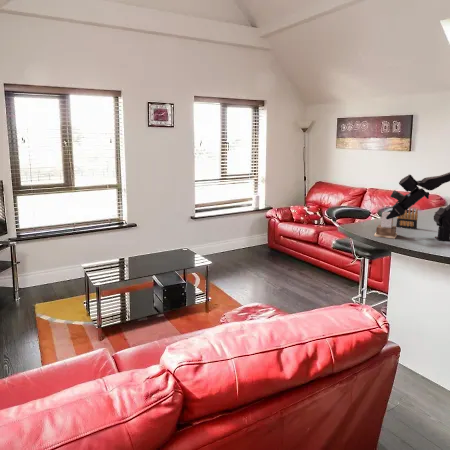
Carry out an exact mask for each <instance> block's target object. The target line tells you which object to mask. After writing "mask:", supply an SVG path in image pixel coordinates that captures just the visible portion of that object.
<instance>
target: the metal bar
mask: <svg viewBox="0 0 450 450" xmlns="http://www.w3.org/2000/svg"><path fill="white" fill-rule="evenodd" d="M390 213H391V211H383V212H382V213H381V222H380V225H381V228H390V229H392V226H393V224H394V218H391V219H386V217H387V216H388V215H389V214H390Z"/></svg>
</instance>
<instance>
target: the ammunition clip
mask: <svg viewBox="0 0 450 450" xmlns="http://www.w3.org/2000/svg"><path fill="white" fill-rule="evenodd" d="M411 208H412V209H411ZM418 210H419V209H418V207H416V209H415V207H413V206H412V207H410V208H408V210H406V211H405V213H404V214H403V215H402V216H398V217H396V228H401V227H402V228H403V229H410V228H411V229H413V230H417V227H418V218H419V213H418Z"/></svg>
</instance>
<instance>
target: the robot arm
mask: <svg viewBox="0 0 450 450" xmlns="http://www.w3.org/2000/svg"><path fill="white" fill-rule="evenodd" d="M449 182H450V171H449V172H447V173H443V174H441V175H436V176H428V177H424V178H422V179H420V180H416V179H415V178H414V176H412V175H411V174H408V175H406V176H404V177H403V178H402V179H401V180H400V181H399V182H398V184H399V186H401V188H403V189H404V190H405V192H408V194H405V195H404V194H402V193H401V192H399V191H397V190H396V189H395V190H393V191H392V193H391V194H390V198H391V199H392V198H393V199H395V200H397V201H396V202H395V203H394V204H393V205H392V208H391V209H392V210H391V211H390V212H391V213H390V214H389V215H388V216H387V217H386V219H391V218H393V219H395V218H397V217H398V216H402V215H403V214H405V211H406V210H407V211H409V208H412V207H413V206H414V205H416V203H417V202H419V201H421V200H422V199H423V198H424V197H425V198H426V199H427V200H429V197H430V192H429V191H433V190H435V189H437V188H439V187H441V186H442V185H443V184H446V183H449ZM426 190H427V191H426ZM433 220H434V221H433V222H435V224H436V226H437V227H438V229H437V236H434V238H435V239H436V240H438V241H442V242H443V241H444V242H445V241H446V242H450V203H449V205H447V206H446V207H441V206H440V207H439V208H438V209H437V211H435V212H434V215H433Z"/></svg>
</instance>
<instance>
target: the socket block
mask: <svg viewBox="0 0 450 450" xmlns="http://www.w3.org/2000/svg"><path fill="white" fill-rule="evenodd" d="M397 236H398V232H397V227H396V226H395V225H392V229H390V228H381V224H378V225H377V227H376V232H375V233H374V236H373V237H376V238H377V237H378V238H386V239H396V237H397Z"/></svg>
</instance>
